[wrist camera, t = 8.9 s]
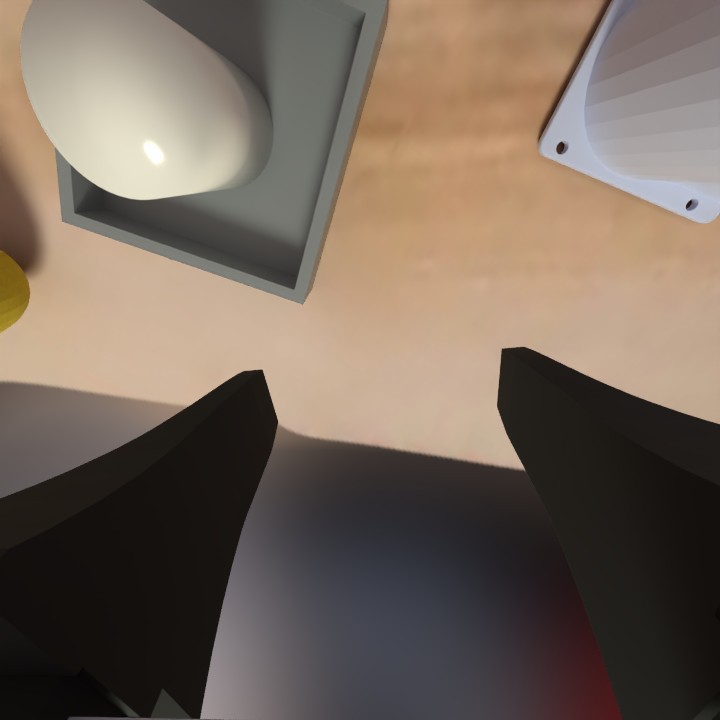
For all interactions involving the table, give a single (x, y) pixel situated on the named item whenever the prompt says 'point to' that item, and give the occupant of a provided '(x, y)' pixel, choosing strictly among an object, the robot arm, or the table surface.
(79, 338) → the table surface
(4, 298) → the lemon
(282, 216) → the tray
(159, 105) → the capsule
